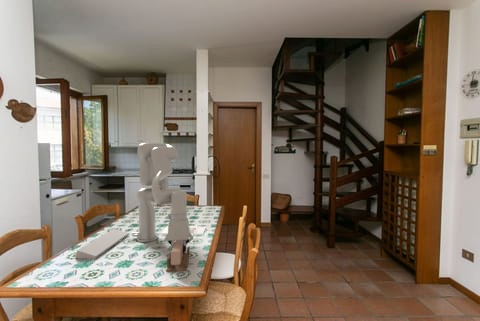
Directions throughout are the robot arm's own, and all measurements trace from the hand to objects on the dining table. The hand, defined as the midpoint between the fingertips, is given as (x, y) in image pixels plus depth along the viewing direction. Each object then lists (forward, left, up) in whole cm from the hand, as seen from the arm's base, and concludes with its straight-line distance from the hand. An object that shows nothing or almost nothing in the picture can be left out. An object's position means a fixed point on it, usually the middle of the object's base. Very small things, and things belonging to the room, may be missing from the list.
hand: (179, 252), depth 123 cm
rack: (0, 0, -5) cm, 5 cm away
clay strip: (0, 0, -1) cm, 1 cm away
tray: (-4, +48, -6) cm, 48 cm away
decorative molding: (-45, +25, -6) cm, 52 cm away
